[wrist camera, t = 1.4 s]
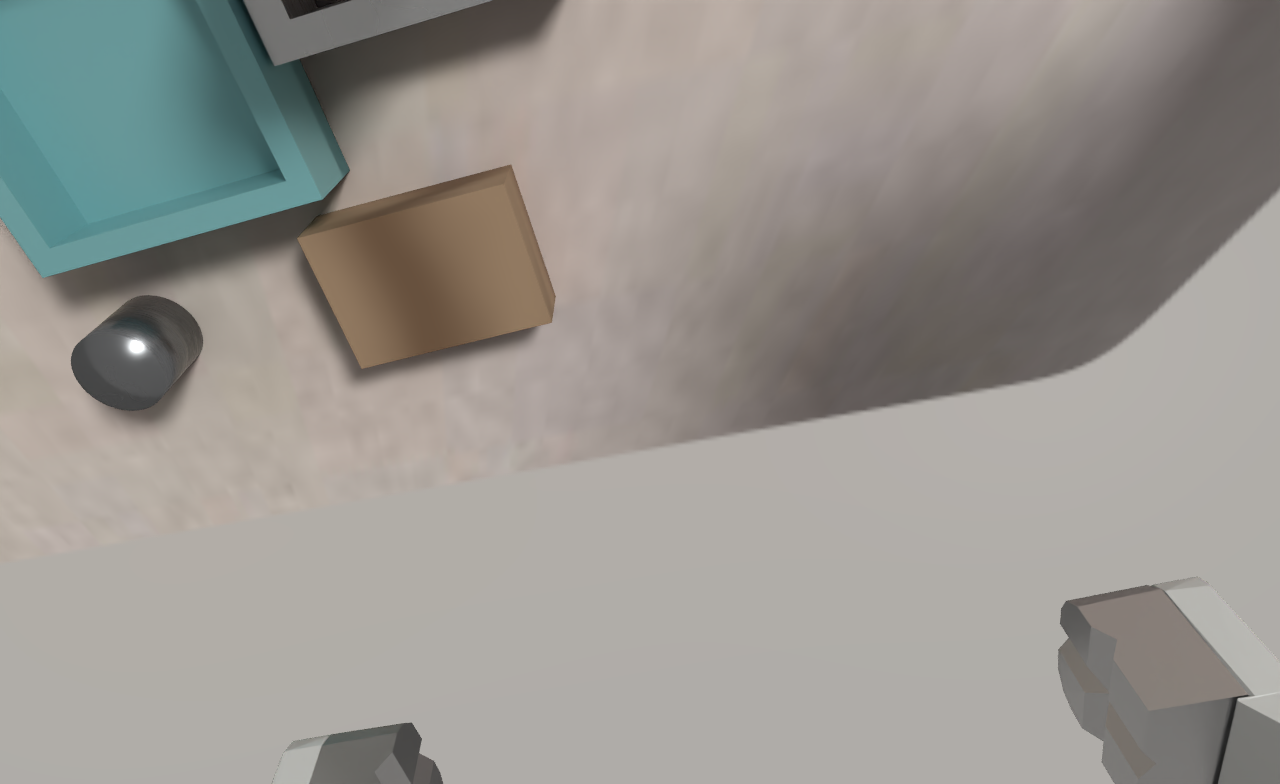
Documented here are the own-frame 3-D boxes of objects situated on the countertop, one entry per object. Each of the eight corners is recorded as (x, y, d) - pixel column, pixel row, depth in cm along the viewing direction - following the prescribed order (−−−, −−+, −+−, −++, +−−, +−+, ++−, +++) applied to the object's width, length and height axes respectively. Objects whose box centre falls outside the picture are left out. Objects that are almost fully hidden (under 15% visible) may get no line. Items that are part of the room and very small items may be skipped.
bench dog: (174, 286, 30) (133, 324, 27) (217, 357, 31) (182, 399, 29) (100, 307, 30) (52, 346, 27) (146, 375, 32) (104, 418, 29)
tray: (198, -164, 23) (145, -170, 20) (349, 170, 28) (322, 199, 25) (-104, -61, 24) (-190, -55, 21) (93, 243, 29) (42, 277, 26)
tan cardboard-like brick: (512, 161, 28) (503, 184, 26) (556, 292, 31) (551, 322, 28) (320, 212, 29) (296, 238, 27) (378, 336, 31) (361, 369, 29)
